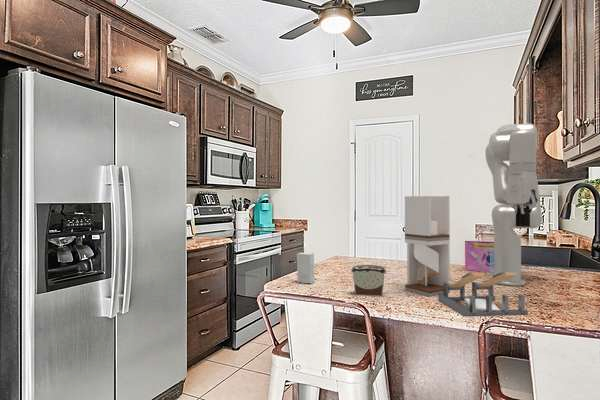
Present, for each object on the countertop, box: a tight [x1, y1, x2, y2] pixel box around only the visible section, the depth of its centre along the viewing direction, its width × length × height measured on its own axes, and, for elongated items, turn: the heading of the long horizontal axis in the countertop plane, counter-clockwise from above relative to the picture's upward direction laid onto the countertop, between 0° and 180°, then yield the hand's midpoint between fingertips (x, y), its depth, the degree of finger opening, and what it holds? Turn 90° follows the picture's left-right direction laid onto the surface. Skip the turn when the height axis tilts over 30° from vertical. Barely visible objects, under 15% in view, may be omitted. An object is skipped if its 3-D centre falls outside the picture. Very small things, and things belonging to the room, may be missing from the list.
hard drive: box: [463, 298, 501, 311], centre depth 122 cm, size 2×8×12 cm
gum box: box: [464, 240, 522, 273], centre depth 182 cm, size 24×8×14 cm, turn 67°
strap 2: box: [476, 272, 516, 291], centre depth 124 cm, size 18×4×2 cm, turn 4°
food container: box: [350, 264, 387, 297], centre depth 140 cm, size 12×6×10 cm, turn 78°
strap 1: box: [448, 272, 485, 291], centre depth 123 cm, size 18×4×2 cm, turn 4°
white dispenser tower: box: [404, 195, 451, 298], centre depth 142 cm, size 11×11×35 cm
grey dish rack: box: [437, 281, 529, 317], centre depth 122 cm, size 18×19×6 cm
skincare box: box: [296, 252, 316, 285], centre depth 158 cm, size 6×4×12 cm
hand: (522, 226), depth 125 cm, fingers closed
